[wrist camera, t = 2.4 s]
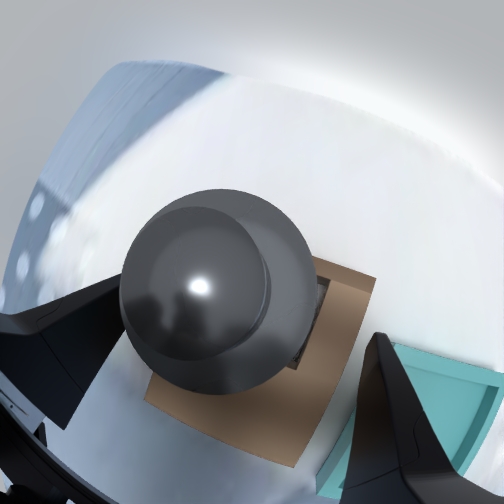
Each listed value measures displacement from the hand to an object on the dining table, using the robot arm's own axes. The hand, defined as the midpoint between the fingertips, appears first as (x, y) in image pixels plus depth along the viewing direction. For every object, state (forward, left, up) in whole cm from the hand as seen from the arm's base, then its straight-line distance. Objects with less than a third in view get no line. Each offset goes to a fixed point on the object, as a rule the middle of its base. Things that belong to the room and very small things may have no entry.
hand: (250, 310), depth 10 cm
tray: (-5, -13, -8) cm, 16 cm away
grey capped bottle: (0, 0, -8) cm, 8 cm away
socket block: (-2, 0, -8) cm, 8 cm away
